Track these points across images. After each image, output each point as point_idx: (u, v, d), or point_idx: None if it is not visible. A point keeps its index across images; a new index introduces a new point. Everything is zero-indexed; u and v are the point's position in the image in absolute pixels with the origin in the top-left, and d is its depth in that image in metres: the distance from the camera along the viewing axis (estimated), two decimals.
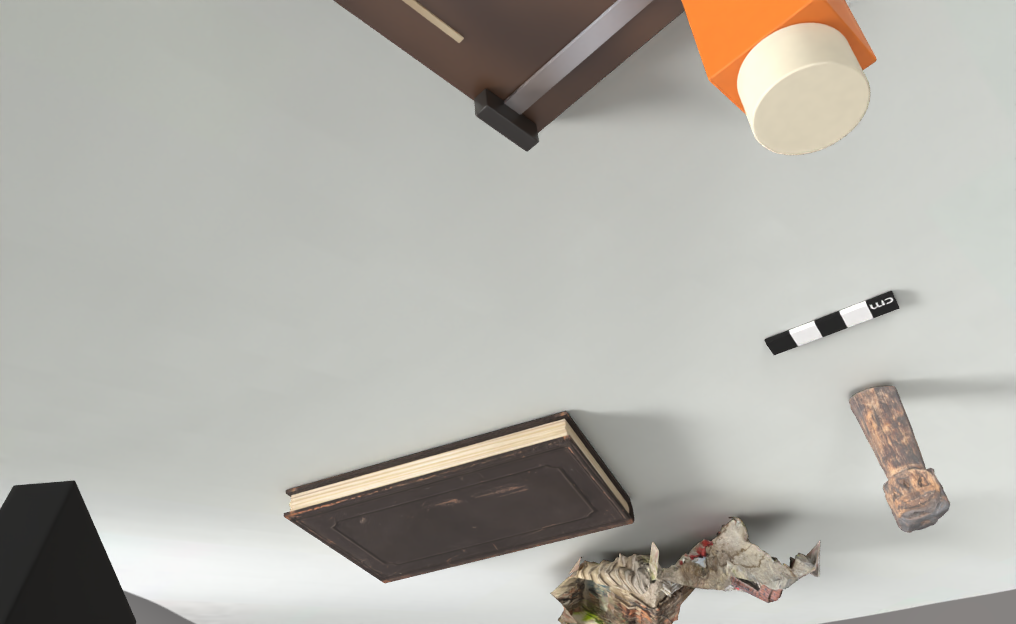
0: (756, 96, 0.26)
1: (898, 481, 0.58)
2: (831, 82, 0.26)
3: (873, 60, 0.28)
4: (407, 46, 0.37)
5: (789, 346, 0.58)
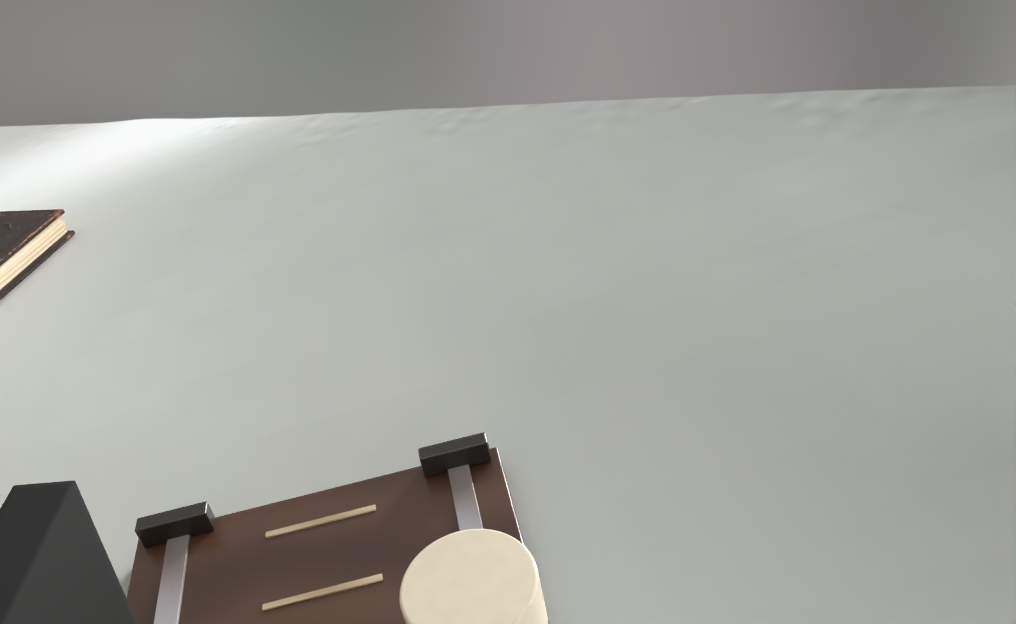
0: None
1: None
2: None
3: None
4: (298, 500, 0.41)
5: None
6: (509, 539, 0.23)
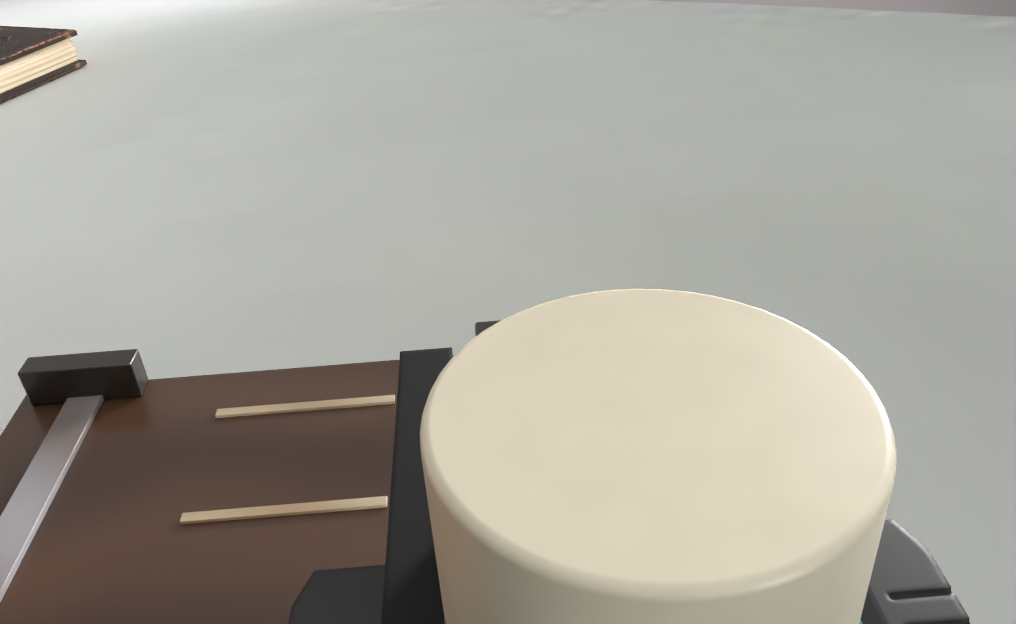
0: None
1: None
2: None
3: None
4: (278, 374, 0.26)
5: None
6: (772, 320, 0.08)
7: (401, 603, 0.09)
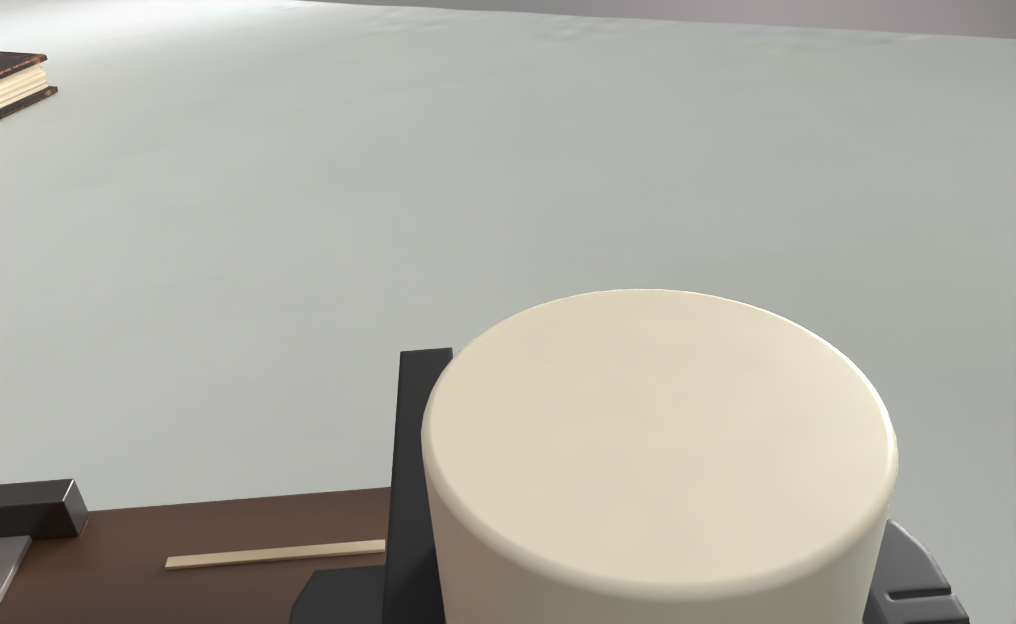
0: None
1: None
2: None
3: None
4: (244, 506, 0.22)
5: None
6: (773, 320, 0.08)
7: (402, 603, 0.09)
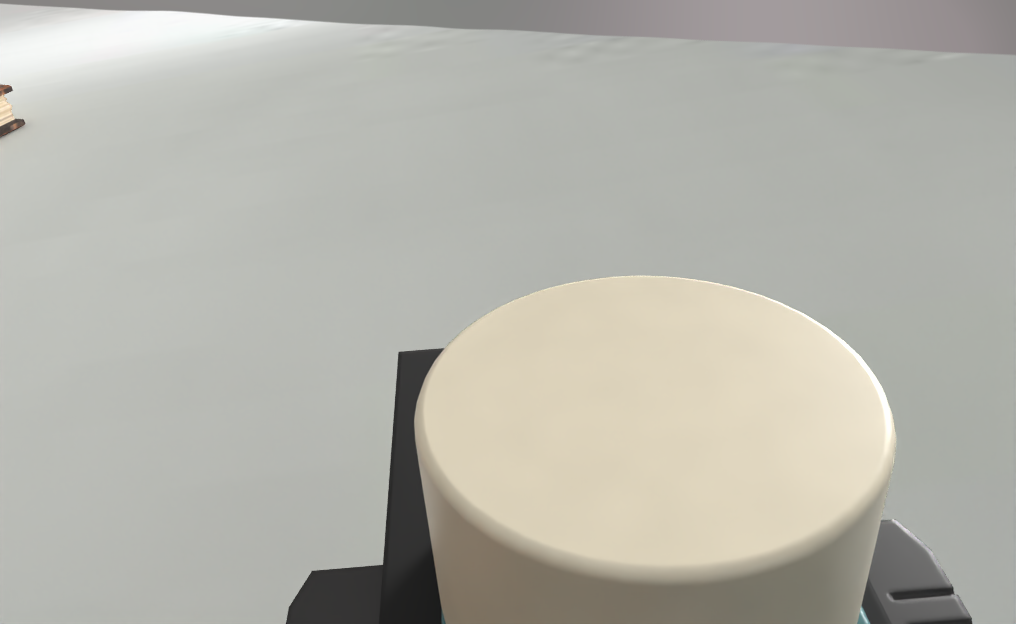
0: None
1: None
2: None
3: None
4: None
5: None
6: (769, 305, 0.08)
7: (399, 604, 0.09)
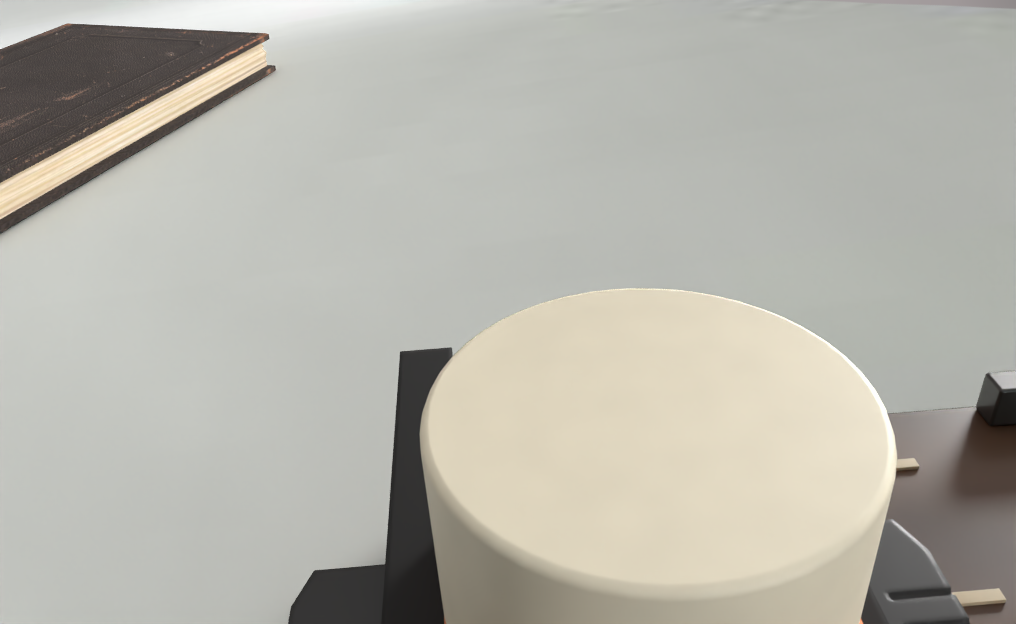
0: None
1: None
2: (754, 491, 0.06)
3: None
4: None
5: None
6: None
7: (401, 603, 0.09)
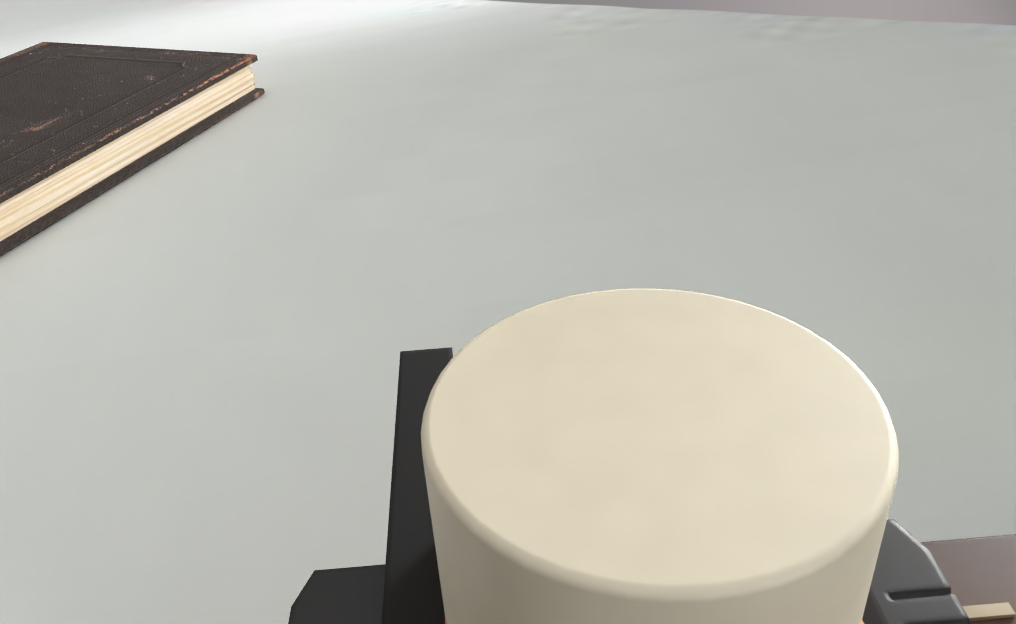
0: (808, 351, 0.08)
1: None
2: (756, 492, 0.06)
3: None
4: None
5: None
6: None
7: (401, 603, 0.09)
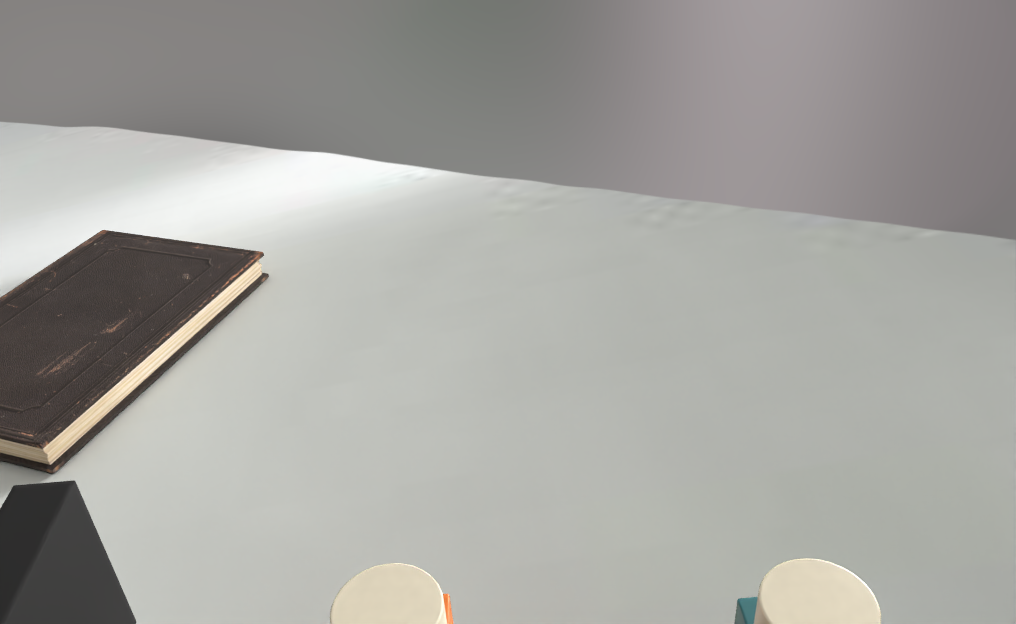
0: (437, 585, 0.28)
1: None
2: None
3: None
4: None
5: None
6: (847, 572, 0.28)
7: None
